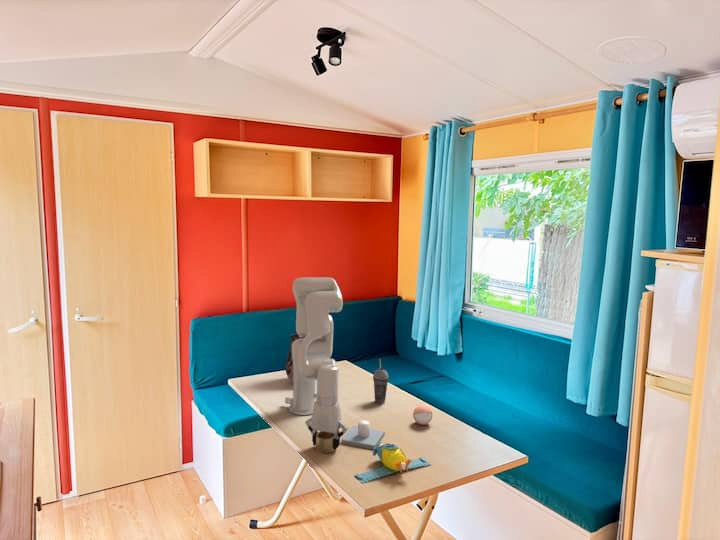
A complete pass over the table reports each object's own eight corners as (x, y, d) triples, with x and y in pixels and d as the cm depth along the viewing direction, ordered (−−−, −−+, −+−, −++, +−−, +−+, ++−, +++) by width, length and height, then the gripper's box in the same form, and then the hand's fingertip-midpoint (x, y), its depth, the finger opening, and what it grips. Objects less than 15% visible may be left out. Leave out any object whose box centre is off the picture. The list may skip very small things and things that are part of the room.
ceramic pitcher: (283, 377, 258) (284, 330, 256) (324, 375, 263) (325, 329, 261) (287, 389, 241) (288, 338, 239) (330, 387, 247) (331, 337, 244)
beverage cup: (376, 406, 224) (378, 362, 222) (369, 400, 230) (370, 358, 228) (390, 403, 227) (392, 361, 225) (382, 398, 234) (384, 356, 231)
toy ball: (415, 428, 202) (416, 409, 201) (410, 420, 210) (411, 402, 209) (434, 427, 203) (435, 408, 202) (428, 419, 211) (429, 401, 210)
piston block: (341, 443, 186) (341, 426, 186) (353, 429, 199) (353, 413, 198) (374, 449, 182) (375, 432, 182) (384, 435, 194) (385, 419, 194)
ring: (312, 450, 179) (312, 437, 179) (320, 441, 186) (320, 429, 186) (331, 454, 177) (331, 441, 176) (338, 445, 184) (339, 432, 183)
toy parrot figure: (367, 463, 155) (345, 444, 168) (367, 490, 156) (344, 469, 169) (439, 445, 169) (413, 429, 182) (438, 470, 169) (412, 452, 183)
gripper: (300, 399, 179) (299, 446, 181) (346, 406, 173) (344, 455, 175) (309, 392, 186) (308, 437, 188) (353, 399, 180) (351, 445, 182)
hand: (325, 445), depth 181 cm, fingers closed on ring, 7 cm apart
